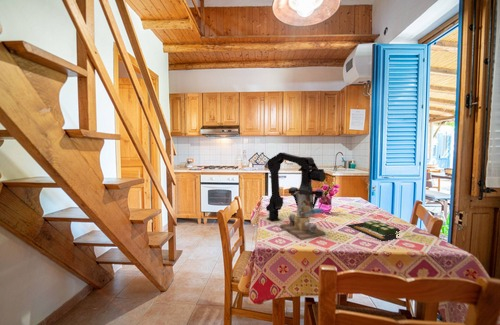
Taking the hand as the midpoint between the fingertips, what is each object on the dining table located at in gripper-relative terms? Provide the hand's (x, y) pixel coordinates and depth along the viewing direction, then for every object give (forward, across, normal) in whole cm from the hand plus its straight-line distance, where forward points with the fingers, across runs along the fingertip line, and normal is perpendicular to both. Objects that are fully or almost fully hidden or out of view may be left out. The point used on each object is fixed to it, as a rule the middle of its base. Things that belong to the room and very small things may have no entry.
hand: (305, 206), depth 129 cm
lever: (+4, +2, +2) cm, 5 cm away
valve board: (+14, -1, -2) cm, 14 cm away
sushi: (+14, +39, +19) cm, 45 cm away
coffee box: (+14, -5, +27) cm, 31 cm away
